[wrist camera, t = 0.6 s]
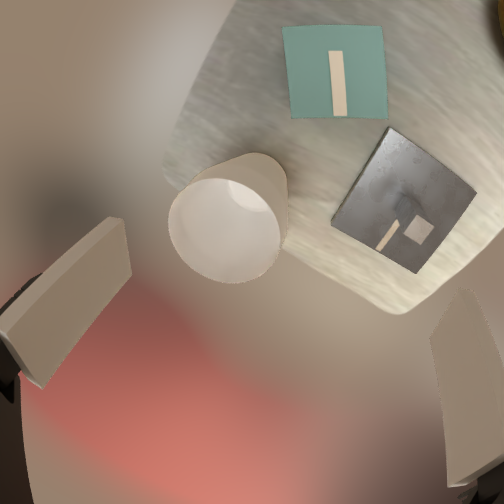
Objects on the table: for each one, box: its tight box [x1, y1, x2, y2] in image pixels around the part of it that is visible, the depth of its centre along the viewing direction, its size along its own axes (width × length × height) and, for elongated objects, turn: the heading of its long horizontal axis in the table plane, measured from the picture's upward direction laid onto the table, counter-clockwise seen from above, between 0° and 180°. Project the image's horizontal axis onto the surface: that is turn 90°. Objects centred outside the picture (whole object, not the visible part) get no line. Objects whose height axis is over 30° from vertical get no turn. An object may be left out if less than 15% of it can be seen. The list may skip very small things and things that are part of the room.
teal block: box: [282, 25, 388, 119], centre depth 22 cm, size 7×7×8 cm
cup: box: [168, 153, 289, 283], centre depth 28 cm, size 9×9×12 cm
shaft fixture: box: [331, 127, 477, 274], centre depth 27 cm, size 12×12×6 cm
